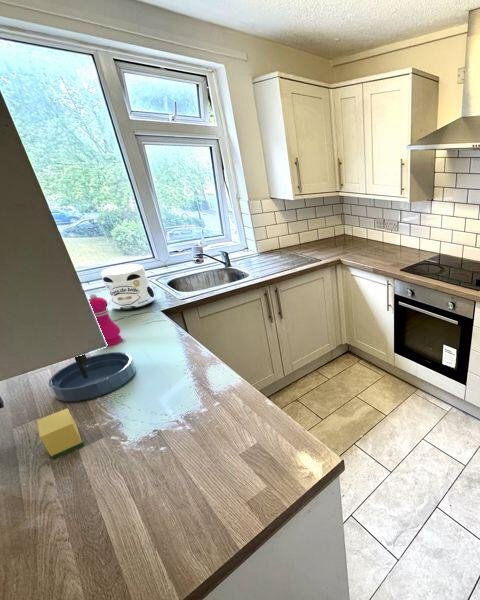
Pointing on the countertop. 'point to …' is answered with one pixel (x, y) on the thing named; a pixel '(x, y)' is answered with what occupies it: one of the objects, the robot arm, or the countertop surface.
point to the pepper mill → (105, 320)
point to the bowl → (92, 377)
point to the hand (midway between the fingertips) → (45, 389)
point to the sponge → (59, 433)
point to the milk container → (127, 287)
